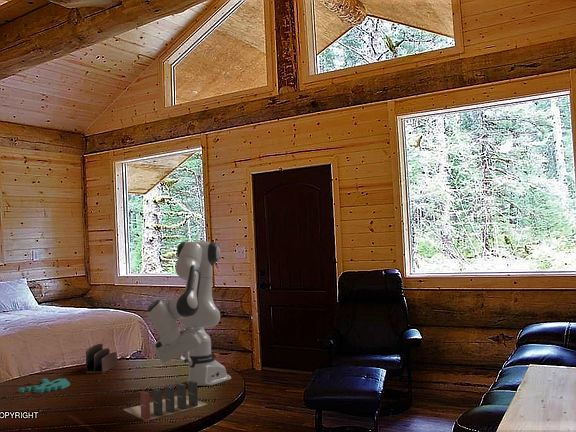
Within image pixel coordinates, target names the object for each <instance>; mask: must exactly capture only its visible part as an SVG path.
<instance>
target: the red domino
mask: <svg viewBox="0 0 576 432" xmlns="http://www.w3.org/2000/svg"><path fill="white" fill-rule="evenodd" d="M139 395H140V396H139V397H140V405H141V417H143V418H145V419H150V403H151V402H150V393H149V392H147V391H144V390H142V391H139Z"/></svg>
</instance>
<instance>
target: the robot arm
mask: <svg viewBox="0 0 576 432" xmlns="http://www.w3.org/2000/svg"><path fill="white" fill-rule="evenodd" d="M176 256H177V261H176V264H175V273H176V275H177V276H178V277H179V278H180V279H182V280H185V282H186V283H185V289H184V291H183V293H182V294H180V295H179V296H177V297H175V298H172V299H169V300H162V299H157V300H155V301H153V303H151V304H150V305H149V306H148V307H147V311H146V313H147V317H148V318H149V320H150V323H151V324H152V325H153V328H155V329H156V330H157V332H158V336H159V338H158V340H157V341H156V342H155V343H154V345H153V348H154V350H156V354H157V357H158V358H159V360H160V362H161V363H163V364H165V363H167V362H169V361H172V360H173V359H176V358H178V360H180V361H182V362H183V364H184V365H185V364H187V363H188V367H189V368H188V369H189V370H188V378H187V383H186V384H187V385H188V381H190V380H192V381H195V382H197V387H198V386H201V387H202V386H206V387H207V386H214V385H216V384H219V383H223V382H227V381H229V380H232V376H231V375H230V374H228V373H227V369H226V367H225V366H224V365H223V364H221V363H220V362H219V361H217V360H216V359H218V357H219V354H218V353H213V352H212V339H211V337H210V335H209V334H208V333H207V331H206V330H205V328H213V327H215V326H217V325H218V324H219V322H220V320H221V312H220V310H219V308H218V307H217V306H216V305H215V302H214V300H213V299H214V298H213V292H212V291H213V275H214V273H213V272H214V269H213V266H214V264H216V263H217V262H218V261H219V260H220V258H221V247H220V245H219V244H218V243H217V242H213V241H211V242H210V241H203V240H202V241H201V240H200V241H198V240H197V241H182V242H180V243H179V244H178V245H177V249H176ZM177 321H178V322H179V323H180V324H181V325H182V326H183V329H181V328H180V327H179V325H178V323H177ZM183 355H185V356H186V357H185V356H183Z"/></svg>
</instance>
